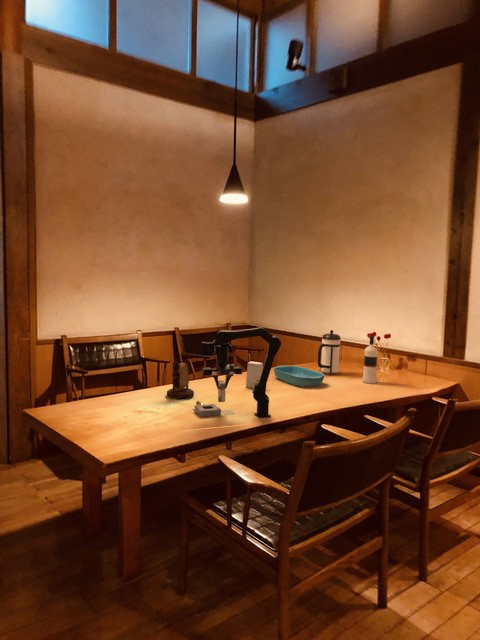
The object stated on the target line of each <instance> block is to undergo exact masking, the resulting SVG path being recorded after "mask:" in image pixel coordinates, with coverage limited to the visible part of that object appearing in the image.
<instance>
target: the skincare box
mask: <svg viewBox="0 0 480 640" xmlns="http://www.w3.org/2000/svg"><path fill="white" fill-rule="evenodd" d="M263 366H264V363H263V362H259V361H258V362H257V361H249V362H247V367H246V378H245V379H246V381H245V388H250V389H251V388H252V389H253V388H254V384H255V383H258V382H259V380H260V376H261V373H262V370H263Z"/></svg>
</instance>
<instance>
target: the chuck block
mask: <svg viewBox="0 0 480 640" xmlns="http://www.w3.org/2000/svg"><path fill="white" fill-rule="evenodd" d="M221 410H222V409H221V408H220V407H218V406H217V405H216V404H214V403H211V404H204V403H203V402H201V400H197V401H196V402H195V405H194V408H192V411H193V412H194V413H195V414H197V415H198V416H199V417H200V418H210V417H220V416H222V412H221Z"/></svg>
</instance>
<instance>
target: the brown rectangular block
mask: <svg viewBox="0 0 480 640" xmlns="http://www.w3.org/2000/svg"><path fill="white" fill-rule="evenodd" d="M218 384H219V389H217V401H218V402H219V403H224V402H226V389H227V388H226V384H225V380H223V379H222V380H221V379H218Z"/></svg>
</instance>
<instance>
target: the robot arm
mask: <svg viewBox="0 0 480 640" xmlns="http://www.w3.org/2000/svg"><path fill="white" fill-rule="evenodd" d="M254 337H255V338H256V337H260V338H262V339H263V340H264V341H265V342H266V343H267V344H268V345H267V354H266V357H265V360H264V363H263V370H262V373H261V376H260V380H259V382H258V383H255V384H254V388H252V391H251V392H252V397H253V400H254V401H255V402H256V412H254V413H253V415H254V416H255V417H258V418H259V419H260V418H270V417H272V415H271V414H269V413H270V412H269V411H270V410H269V409H270V408H269V407H270V405H269V404H270V398H269V396H268V395H267V393H266V392H267V383H268V380H269V376H270V373H271V371H272V370H271V369H272V367H273V363H274V360H275V357H276V356H277V354H278V353H279V350H280V348H281V346H282V341H281V338H280V337H279V336H278V335H274V334H272V332H271V333H270V332H269V331H268V330H267V329H265V328H264V327H263V326H259V327H256V328H255V327H254V328H247V329H241V330H240V329H239V330H238V329H237V330H230V329H229V330H228V329H225V330H224V329H220V330H219V331H218V332H217V333H216V336H215V339H214V340H213V341H212V342H205V341H201V345H200V346H201V347H200V356H201V357H213V356H214V355H215V358H216V359H215V368H211V367H209V366H208V367H202V369H201V374H202V376H211V377H212V378H213V379H214V382H215V386H216V388H217V390H218V389H219V384H218V380H219V375H220V376H223V375H225V380H224V382H225V384H226V389H227V388H228V385H229V382H230V379H231V378H232V377H234V376H235V375H243V369H242V368H241V367H240V366H235V365H234V363H230V362H229V349H232V347H233V345H232V344H231V343H230V342H232V341H234V340H239V339H247V338H254ZM218 374H219V375H218ZM234 374H235V375H234Z"/></svg>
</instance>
